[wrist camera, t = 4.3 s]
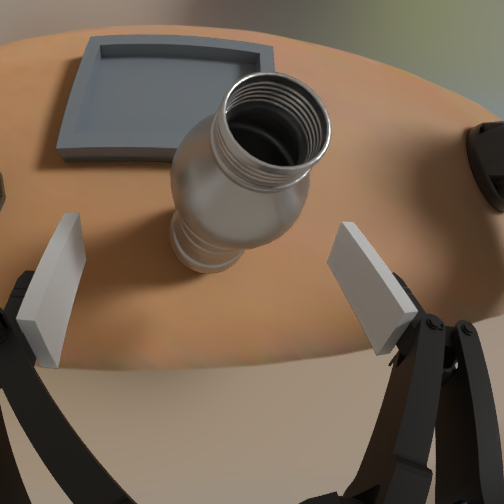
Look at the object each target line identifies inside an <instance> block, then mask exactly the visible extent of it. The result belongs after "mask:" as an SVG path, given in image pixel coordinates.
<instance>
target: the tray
mask: <svg viewBox="0 0 504 504" xmlns="http://www.w3.org/2000/svg"><path fill="white" fill-rule="evenodd" d="M264 71H269V72H275V67H274V53H273V46H268V45H262V44H256V43H250V42H243V41H235V40H227V39H218V38H208V37H196V36H180V35H110V36H94V37H90V39H89V42H88V44H87V47H86V49H85V52H84V55H83V57H82V60H81V63H80V66H79V68H78V71H77V74H76V77H75V80H74V83H73V86H72V90H71V93H70V96H69V99H68V103H67V106H66V110H65V113H64V117H63V121H62V125H61V129H60V133H59V137H58V141H57V146H56V149H57V151H58V152H59V154H60V155H61V157H62V158H63V160H64V161H65V162H73V161H153V162H172V161H173V158H174V155H175V153H176V150H177V148H178V146H179V145H180V143H181V142H182V140H183V139H184V137H185V136H186V135H187V134H188V133H189V131H190V130H191V129H192V128H193V127H194V126H196V125H197V124H198V123H199V122H200V121H201V120H203V119H205V118H206V117H208V116H209V115H212V114H214V113H216V112H217V110H218V109H219V107H220V104H221V101H222V99H223V97H224V95H225V93H226V92H227V91H228V89H229V88H230V87H231V85H232V84H233V83H235V82H236V81H237V80H238V79H240V78H242V77H244V76H246V75H248V74H252V73H255V72H264Z"/></svg>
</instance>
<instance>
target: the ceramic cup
mask: <svg viewBox="0 0 504 504" xmlns="http://www.w3.org/2000/svg"><path fill="white" fill-rule="evenodd" d="M4 201H5V191H4V184H3V178H2V174H1V172H0V211H1V208H2V206H3V204H4Z"/></svg>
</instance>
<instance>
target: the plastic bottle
mask: <svg viewBox="0 0 504 504" xmlns="http://www.w3.org/2000/svg"><path fill="white" fill-rule="evenodd" d="M330 138H331V122H330V118H329V114H328V112H327V110H326V108H325V106H324V104H323V102H322V101H321V99H320V98H319V97H318V96H317V95H316V93H315V92H314V91H313V90H312V89H310V88H309V87H308V86H307V85H306V84H304V83H303V82H301V81H299V80H298V79H296V78H293V77H291V76H289V75H286V74H282V73H278V72H269V71H264V72H255V73H252V74H248V75H246V76H244V77H242V78H240V79H238V80H237V81H236V82H235V83H233V84H232V85H231V87H230V88H229V89H228V91H227V92H226V93H225V95H224V97H223V99H222V101H221V104H220V107H219V109H218V110H217V112H216V113H214V114H212V115H209V116H208V117H206V118H205V119H203V120H201V121H200V122H199V123H198V124H197V125H196V126H194V127H193V128H192V129H191V130H190V131H189V133H188V134H187V135H186V136H185V137H184V139H183V140H182V142H181V143H180V145H179V146H178V148H177V150H176V153H175V155H174V158H173V161H172V166H171V172H170V177H171V190H172V195H173V199H174V204H175V207H176V211H175V212H174V214H173V216H172V219H171V222H170V227H169V240H170V243H171V247H172V249H173V251H174V253H175V255H176V257H177V258H178V259H179V260H180V262H182V263H183V264H184V265H185V266H186V267H188V268H190V269H191V270H193V271H196V272H199V273H206V274H212V273H218V272H221V271H225V270H226V269H228V268H230V267H232V266H233V265H234V264H235V263H236V262H237V261H238V260H239V259H240V257H241V256H242V255H243V253H244V251H245V250H247V249H253V248H256V247H259V246H262V245H265V244H268V243H270V242H272V241H274V240H276V239H277V238H279V237H281V236H282V235H283V234H284V233H286V232H287V231H288V230H289V229H290V228H291V227H292V226H293V224H294V223H295V222H296V220H297V219H298V217H299V215H300V213H301V211H302V209H303V207H304V204H305V201H306V199H307V195H308V191H309V186H310V171H311V169H312V167H313V166H314V165H315V164H316V163H318V162H319V160H320V159H321V158H322V156H323V155H324V153H325V152H326V150H327V148H328V145H329V143H330Z"/></svg>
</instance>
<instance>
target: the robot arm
mask: <svg viewBox="0 0 504 504" xmlns="http://www.w3.org/2000/svg"><path fill="white" fill-rule="evenodd" d="M467 151H468V157H469V161H470V165H471V168H472V171H473V174H474V176H475V179H476V181H477V183H478V185H479V187H480V189H481V191H482V192H483V194H484V196H485V197H486V199H487V200H488V201H489V202H490V204H491V205H492V206H493V207H494V208H496V209H497V210H499V211H502V212H504V121H497V122H487V123H481V124H479V125H477V126H475V127H474V128H472V129H471V130H470V131H469V133H468V136H467ZM85 262H86V254H85V248H84V242H83V236H82V229H81V222H80V214H79V213H64V215H63V217H62V219H61V221H60V222H59V224H58V226H57V228H56V230H55V232H54V234H53V236H52V238H51V240H50V242H49V244H48V246H47V248H46V250H45V252H44V254H43V256H42V258H41V260H40V262H39V265H38V267H37V269H36V271H25V272H24V273H23V274H22V275H21V276H20V277H19V278H18V279H17V282H16V284H15V286H14V290H12V293H11V295H10V297H9V299H8V302H7V304H6V306H5V309H4V311H3V310H2V308H0V389H1V388H2V389H3V391H4V393H5V395H6V397H7V399H8V401H9V403H10V405H11V407H12V409H13V411H14V413H15V415H16V417H17V419H18V421H19V423H20V424H21V426H22V428H23V430H24V431H25V433H26V435H27V436H28V438H29V440H30V442H31V443H32V445H33V447H34V448H35V450H36V451H37V453H38V454H39V456H40V458H41V459H42V461H43V462H44V464H45V465H46V467H47V468H48V470H49V471H50V473H51V474H52V476H53V477H54V478H55V480H56V481H57V483H58V484H59V485H60V487H61V488H62V489H63V491H64V492H65V493H66V495H67V496H68V497H69V499H70V500H71V501H72V502H73V504H137V503H136V502H135V501H134V500H133V499H132V498H131V497H130V496H129V495H128V494H127V493H126V492H125V491H124V490H123V489H122V488H121V487H120V485H119V484H118V483H117V482H116V481H115V480H114V479H113V478H112V477H111V475H110V474H109V473H108V472H107V471H106V470H105V468H104V467H103V466H102V465H101V464H100V463H99V461H98V460H97V459H96V458H95V457H94V455H93V454H92V453H91V452H90V450H89V449H88V448H87V446H86V445H85V444H84V443H83V441H82V440H81V439H80V437H79V436H78V435H77V433H76V432H75V431H74V429H73V428H72V426H71V425H70V424H69V422H68V421H67V419H66V418H65V416H64V415H63V414H62V412H61V411H60V409H59V408H58V406H57V405H56V403H55V401H54V400H53V399H52V397H51V395H50V394H49V392H48V390H47V389H46V387H45V385H44V384H43V382H42V380H41V379H40V377H39V375H38V374H37V372H36V370H35V368H34V365H35V361H36V359H37V361H38V363H39V365H40V366H41V367H45V368H54V369H58V366H59V361H60V356H61V352H62V347H63V343H64V338H65V334H66V330H67V326H68V322H69V318H70V314H71V310H72V306H73V303H74V299H75V295H76V292H77V288H78V285H79V282H80V278H81V275H82V272H83V269H84V266H85ZM327 264H328V265H329V267H330V269H331V271H332V273H333V274H334V276H335V278H336V280H337V282H338V283H339V285H340V287H341V289H342V291H343V292H344V294H345V296H346V298H347V300H348V302H349V304H350V305H351V307H352V309H353V311H354V313H355V315H356V317H357V319H358V320H359V322H360V324H361V326H362V328H363V330H364V332H365V334H366V336H367V338H368V340H369V342H370V344H371V346H372V348H373V350H374V351H375V353H376V355H382V354H388V353H390V352H391V351H392V349H393V348H394V346H395V345H397V347H398V349H399V351H398V352H397V354H396V355H395V356H394V358H393V359H392V360H391V362H390V363H389V366H391V365H392V363H394V364H393V368H392V372H391V375H390V379H389V383H388V386H387V389H386V393H385V396H384V399H383V403H382V406H381V409H380V413H379V415H378V418H377V422H376V425H375V428H374V431H373V434H372V436H371V439H370V442H369V445H368V447H367V450H366V453H365V455H364V458H363V460H362V463H361V466H360V468H359V471H358V473H357V475H356V477H355V479H354V480H353V482H352V483H351V484H350V485H349V487H348V488H347V489H346V491H345V493H344V494H343V496H338V494H337V492H333V493H329V494H325V495H322V496H318V497H314V498H310V499H307V500H305V501H303V502H301V503H299V504H425V503H426V499H427V496H428V492H429V489H430V485H431V481H432V474H433V473H432V470H430V469H429V468H427V461H428V456H429V452H430V447H431V443H432V438H433V432H434V428H435V436H436V484H435V504H504V477H503V463H502V451H501V443H500V435H499V428H498V421H497V415H496V409H495V404H494V398H493V393H492V388H491V383H490V379H489V375H488V370H487V366H486V362H485V359H484V354H483V351H482V347H481V343H480V340H479V337H478V333H477V331H476V329H475V327H474V326H473V325H472V324H471V323H470V322H468V321H465V320H460V321H458V322H457V324H456V325H455V326H454V327H450V326H445V325H444V323H443V322H442V321H441V320H440V319H439V318H438V317H436V316H435V315H432V314H426V313H425V311H424V310H423V308H422V307H421V305H420V304H419V302H418V301H417V299H416V298H415V297H414V295H413V294H412V292H411V291H410V289H409V288H407V285H406V284H405V282H404V281H403V280H402V279H401V278H400V277H399V276H398V275H397V274H395V273H391V271H390V270H389V268H388V267H387V266H386V264H385V263H384V262H383V260H382V259H381V258H380V256H379V255H378V254H377V252H376V251H375V249H374V248H373V247H372V246H371V244H370V243H369V242H368V240H367V239H366V238H365V236H364V235H363V234H362V232H361V231H360V230H359V229H358V227H357V226H356V225H355V223H354V222H342V221H341V224H340V227H339V230H338V233H337V236H336V239H335V241H334V244H333V247H332V250H331V253H330V255H329V258H328V261H327ZM457 362H458V368H457V369H456V368H455V364H456V363H457ZM0 504H31V501H30V499H29V496H28V494H27V492H26V489H25V486H24V484H23V481H22V479H21V476H20V473H19V470H18V467H17V464H16V461H15V458H14V455H13V452H12V449H11V445H10V442H9V438H8V435H7V431H6V427H5V423H4V420H3V416H2V411H1V406H0Z"/></svg>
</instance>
